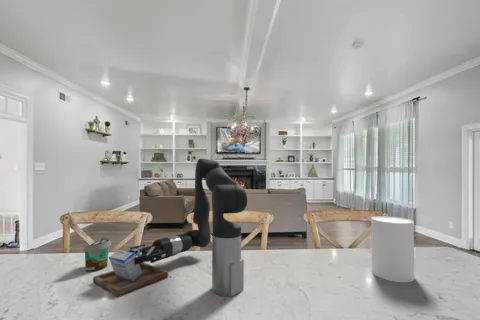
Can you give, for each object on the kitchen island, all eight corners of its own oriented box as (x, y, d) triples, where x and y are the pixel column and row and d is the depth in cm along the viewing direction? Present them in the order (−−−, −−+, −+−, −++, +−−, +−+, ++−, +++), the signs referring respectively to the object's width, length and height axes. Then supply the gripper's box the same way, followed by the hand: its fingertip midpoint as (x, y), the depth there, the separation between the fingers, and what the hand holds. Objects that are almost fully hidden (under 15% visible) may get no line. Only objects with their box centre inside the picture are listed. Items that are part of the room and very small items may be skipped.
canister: (371, 277, 94) (370, 220, 94) (372, 265, 106) (371, 215, 106) (416, 285, 88) (415, 224, 88) (412, 271, 100) (411, 218, 100)
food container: (99, 274, 95) (100, 246, 96) (83, 273, 95) (83, 245, 96) (116, 262, 108) (117, 237, 108) (101, 261, 108) (102, 237, 108)
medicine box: (116, 278, 90) (107, 257, 87) (126, 268, 93) (118, 248, 91) (132, 282, 86) (124, 260, 83) (142, 272, 90) (134, 251, 87)
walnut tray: (167, 277, 92) (167, 271, 92) (117, 297, 78) (117, 290, 78) (141, 267, 102) (141, 261, 102) (93, 282, 88) (93, 276, 88)
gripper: (156, 234, 107) (117, 243, 94) (179, 240, 98) (139, 251, 85) (156, 253, 106) (117, 264, 94) (179, 261, 98) (139, 275, 85)
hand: (128, 258), depth 89 cm, fingers closed on medicine box, 8 cm apart
